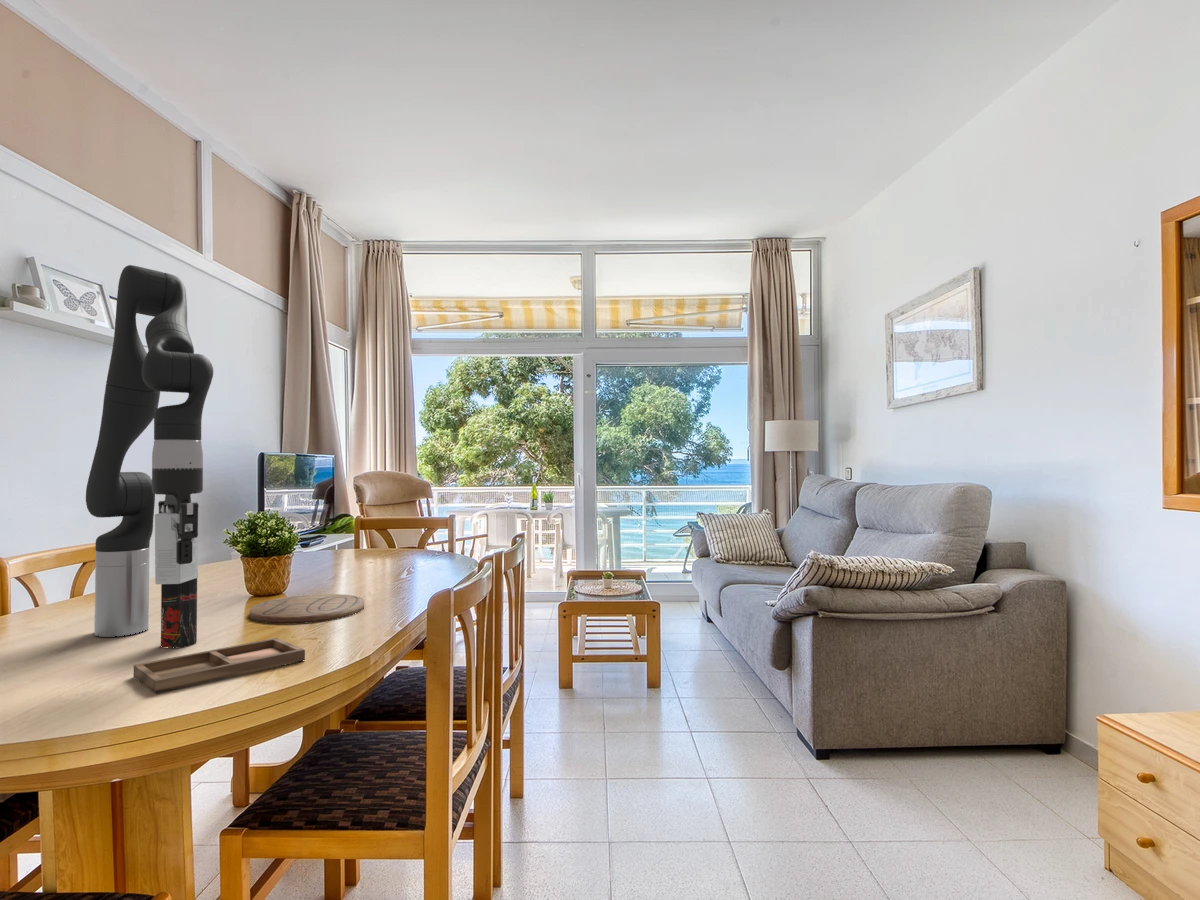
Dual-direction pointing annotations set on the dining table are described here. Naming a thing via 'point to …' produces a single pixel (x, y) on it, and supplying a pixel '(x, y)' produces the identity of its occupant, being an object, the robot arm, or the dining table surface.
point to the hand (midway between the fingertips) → (177, 561)
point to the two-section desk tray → (216, 664)
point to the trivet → (307, 608)
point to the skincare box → (171, 553)
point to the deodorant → (179, 614)
